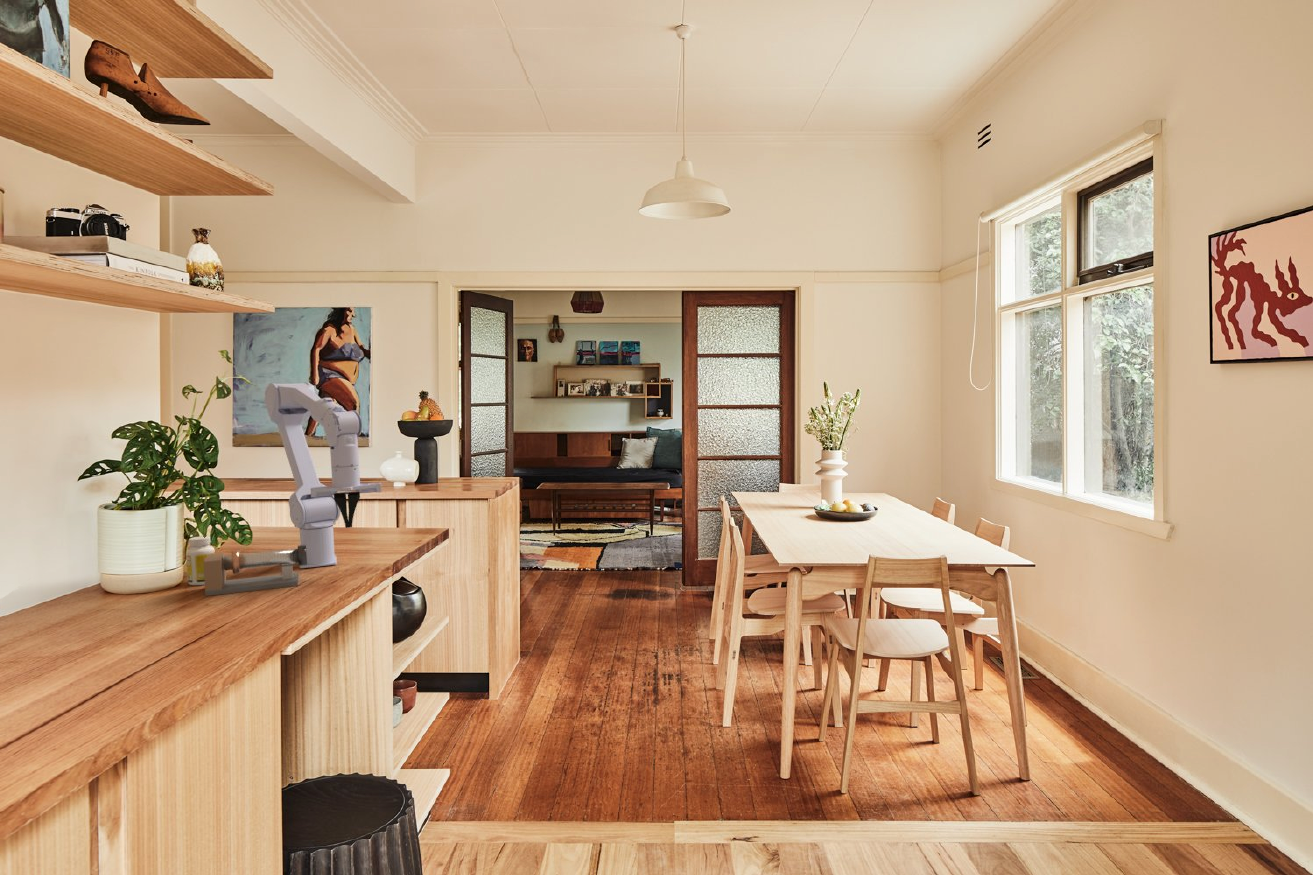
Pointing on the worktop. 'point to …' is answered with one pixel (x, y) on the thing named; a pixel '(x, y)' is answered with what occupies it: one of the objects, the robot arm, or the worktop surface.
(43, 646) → the worktop surface
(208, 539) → the supplement bottle
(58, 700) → the worktop surface
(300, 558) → the shaft
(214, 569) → the shaft stand
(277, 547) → the worktop surface
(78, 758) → the worktop surface
